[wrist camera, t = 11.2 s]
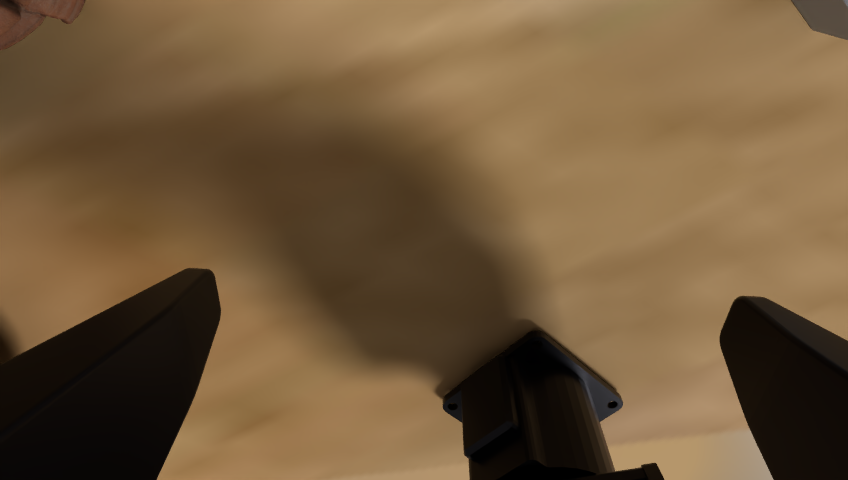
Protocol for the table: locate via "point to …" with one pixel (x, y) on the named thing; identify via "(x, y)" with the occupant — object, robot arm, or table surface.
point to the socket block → (825, 16)
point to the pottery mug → (32, 16)
